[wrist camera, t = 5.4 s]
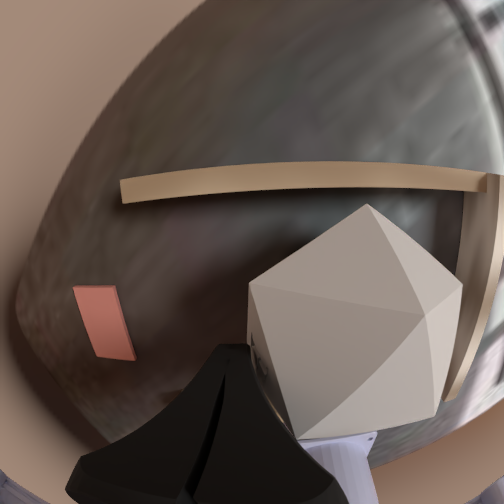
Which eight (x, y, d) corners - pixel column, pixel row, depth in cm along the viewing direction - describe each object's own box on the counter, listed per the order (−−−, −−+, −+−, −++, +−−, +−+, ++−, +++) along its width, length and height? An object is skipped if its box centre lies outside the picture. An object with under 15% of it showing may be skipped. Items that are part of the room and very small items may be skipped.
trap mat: (136, 358, 15) (135, 360, 15) (98, 353, 16) (96, 356, 15) (115, 285, 14) (112, 287, 14) (75, 285, 14) (72, 287, 14)
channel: (437, 372, 16) (455, 398, 13) (185, 399, 16) (175, 432, 14) (475, 171, 11) (510, 176, 9) (138, 177, 12) (108, 182, 9)
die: (317, 161, 12) (153, 286, 6) (487, 227, 9) (504, 447, 2) (296, 286, 18) (198, 409, 11) (418, 340, 14) (363, 492, 8)
